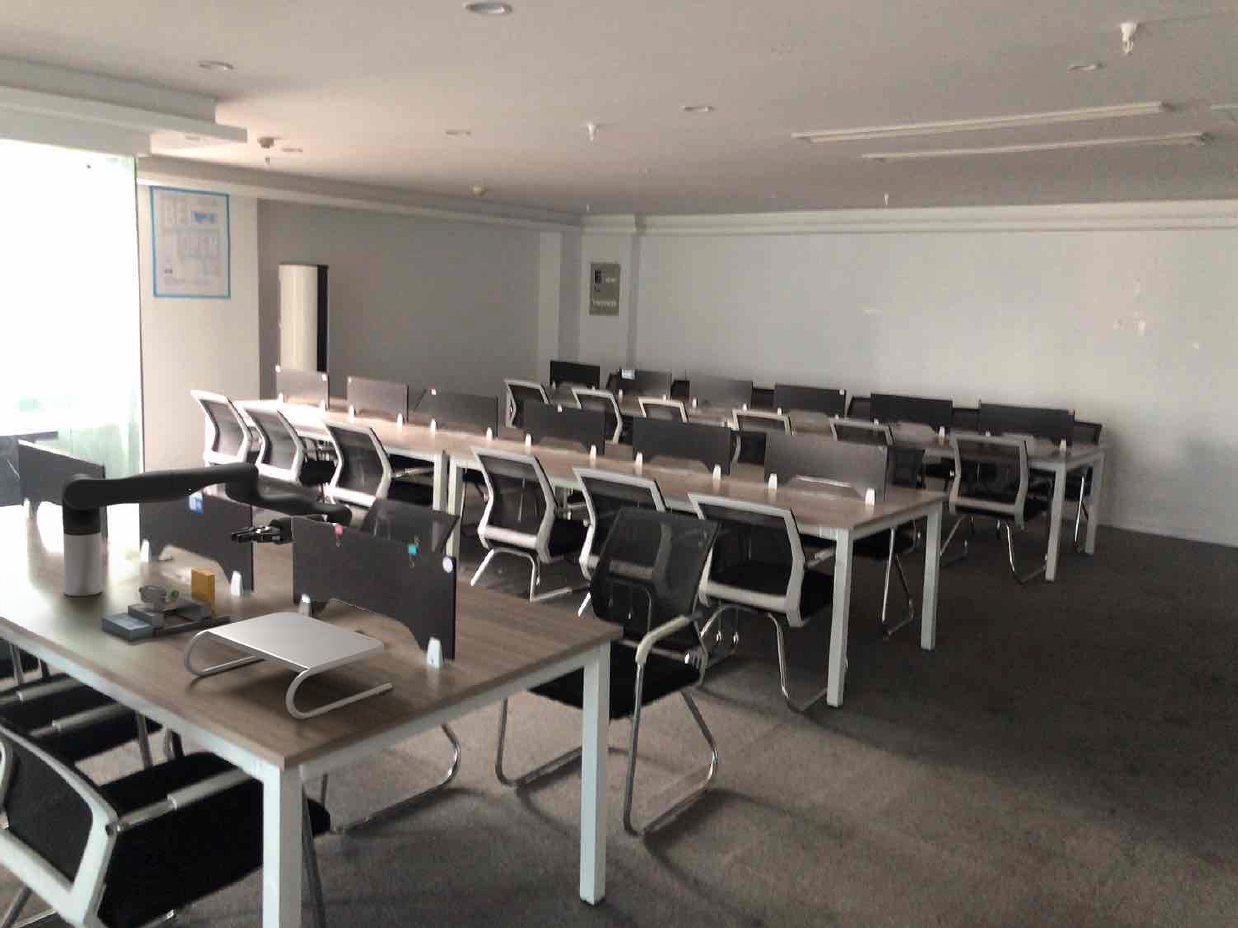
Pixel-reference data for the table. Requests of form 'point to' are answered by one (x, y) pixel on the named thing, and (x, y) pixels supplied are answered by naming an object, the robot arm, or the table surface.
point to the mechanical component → (157, 596)
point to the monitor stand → (293, 650)
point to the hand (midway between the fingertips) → (234, 538)
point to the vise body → (150, 623)
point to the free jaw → (198, 597)
